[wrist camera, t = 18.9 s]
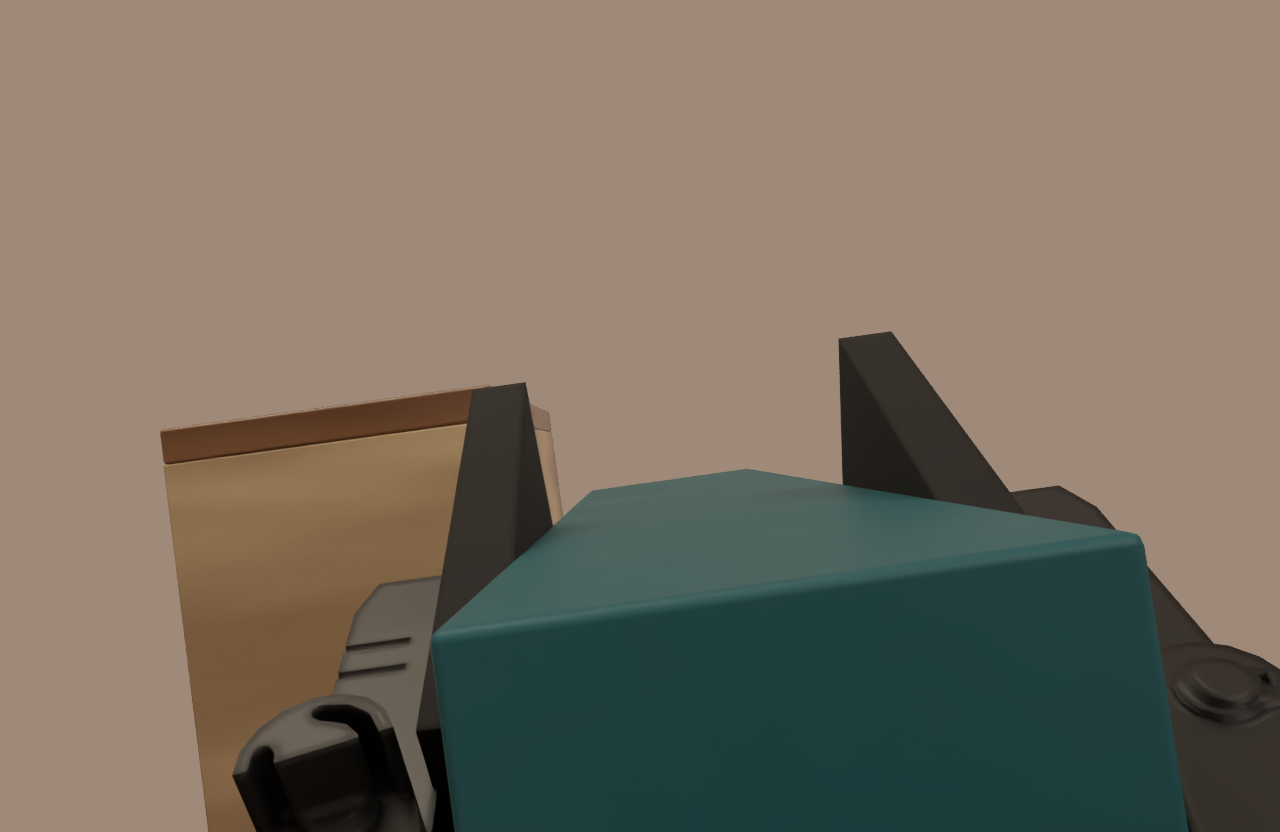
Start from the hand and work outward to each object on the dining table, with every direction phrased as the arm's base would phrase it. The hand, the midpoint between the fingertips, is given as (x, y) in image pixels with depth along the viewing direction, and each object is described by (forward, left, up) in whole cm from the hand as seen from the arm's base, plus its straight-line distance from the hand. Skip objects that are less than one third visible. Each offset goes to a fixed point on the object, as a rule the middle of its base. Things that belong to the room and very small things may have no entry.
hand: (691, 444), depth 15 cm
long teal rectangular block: (+2, 0, -4) cm, 5 cm away
